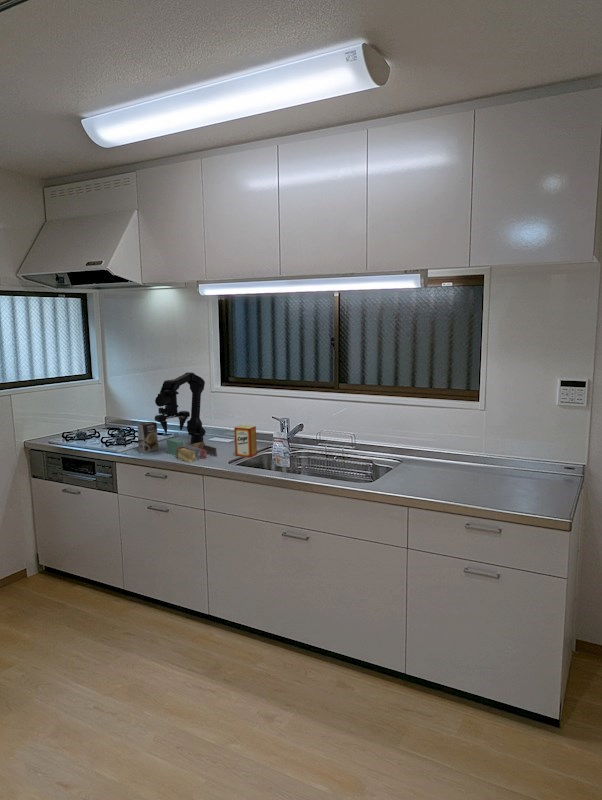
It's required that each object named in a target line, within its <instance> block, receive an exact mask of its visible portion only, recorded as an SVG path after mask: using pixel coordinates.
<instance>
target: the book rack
mask: <svg viewBox="0 0 602 800" xmlns="http://www.w3.org/2000/svg"><path fill="white" fill-rule="evenodd" d="M204 444H205V441H203V442H200V443H195V444H191V443H190V444H187V445H183V446H181V447H176V452H177V456H176V459H177V458H179V459H178V460H180V459H182V460H181V461H183V460H185V461H184V462H186V461H188V462H187V463H189V462H190V463H193V462H192V461H194V462H196V461H195V460H198V461H200V460H199V459H203V460H205V459H204V458H208V457H207V455H208V454H210V455H209V456H212V455H213V456H212V457H217V456H218V453H217V447H214V446H210V445H206V444H205V445H204ZM206 453H207V454H206Z"/></svg>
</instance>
